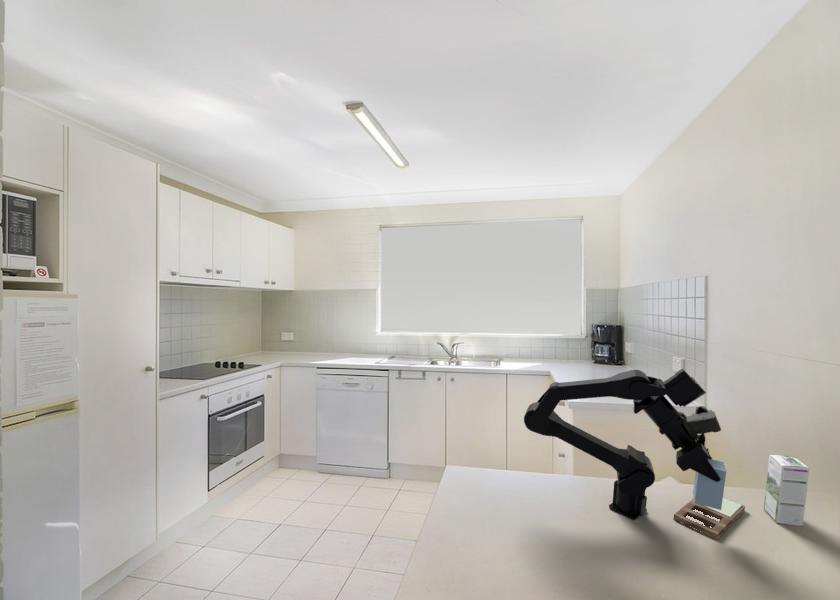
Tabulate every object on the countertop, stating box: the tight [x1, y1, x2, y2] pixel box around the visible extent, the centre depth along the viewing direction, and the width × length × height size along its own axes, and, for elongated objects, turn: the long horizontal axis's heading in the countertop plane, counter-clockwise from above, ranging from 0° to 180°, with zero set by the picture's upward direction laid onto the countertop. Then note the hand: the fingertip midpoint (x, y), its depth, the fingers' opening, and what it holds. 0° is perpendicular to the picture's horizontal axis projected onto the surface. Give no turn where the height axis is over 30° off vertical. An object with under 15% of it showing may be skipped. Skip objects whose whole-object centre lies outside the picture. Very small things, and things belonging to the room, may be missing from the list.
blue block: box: [692, 458, 727, 510], centre depth 100 cm, size 5×5×9 cm
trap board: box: [673, 496, 746, 540], centre depth 107 cm, size 9×18×1 cm, turn 128°
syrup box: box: [763, 454, 810, 527], centre depth 106 cm, size 6×6×14 cm
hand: (717, 475), depth 99 cm, fingers closed on blue block, 5 cm apart
